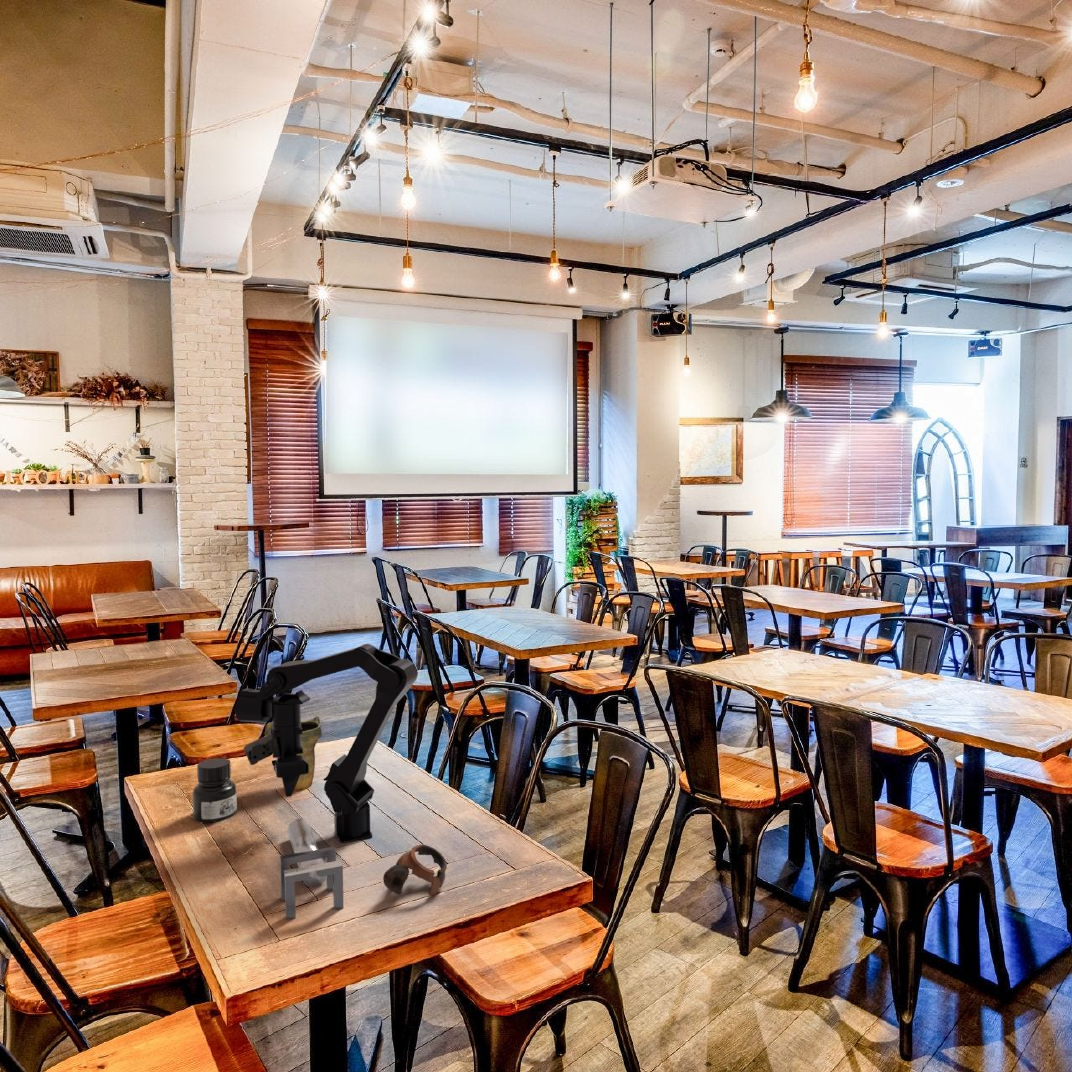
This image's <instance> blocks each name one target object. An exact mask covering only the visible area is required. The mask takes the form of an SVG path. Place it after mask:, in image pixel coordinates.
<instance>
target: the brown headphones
mask: <svg viewBox="0 0 1072 1072" xmlns="http://www.w3.org/2000/svg"><path fill="white" fill-rule="evenodd" d="M417 852H418V853H417ZM416 853H417V855H418V856H431V857H432V859H433V863H434V864H437V865H438V866H439V868H440V869H438V871H437V873H435V871H434V870H433V869H431V868H427V867H426V866H424V865H423V864H422V863H421V862H420V861H418V859H417V856H416ZM447 868H448V865H447V860H446V859H445V857H444V855H443V854H442V853H441V852H439V851H438V850H437V849H436V848H434V847H432V846H430V845H426V844H419V845H414V846H413V847H412V848H411V850H409V851H406V852H404V853H403V854H402V855H400V856H399V858H398V859H397V861H396V863H395V864H394V865H392V866H391V867H390V868H388V869H387V870H386V871H385V872H384V874H383V884H384V886H385V887H386V888H387V889H388V890H390V891H391V892H394V894H398V895H401V894H402V891H403V887H404V885H405V882H406V881H407V880H408V878H409V875H410V870H411V874H412V875H414V876H416V877H417V878H419V879H422V880H424V881H425V882H428V883H431V884H430V886H431V887H430V889H429V892H428V894H429V896H431V897H433V896H436V895H437V893H438V892H439V889H440V888H442V886H443V885H444V883H445V880H446V870H447ZM435 874H436V875H435Z"/></svg>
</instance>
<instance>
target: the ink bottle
mask: <svg viewBox="0 0 1072 1072" xmlns="http://www.w3.org/2000/svg"><path fill="white" fill-rule="evenodd" d="M231 766H232V765H231V760H230V759H228V758H222V757H221V758H220V757H219V758H210V759H205V760H203V761H201V762H199V763H197V765H196V768H197V770H196V771H197V772H196V773H197V775H196V776H197V782H198V784H197V785H196V786H195V787H194V788H193V791H192V805H193V809H192V811H193V813H192V814H193V819H194V821H195V820H196V821H195V822H197V821H198V822H197V823H200V822H202V823H201V824H215V823H216V822H217V823H218V822H222V821H225V820H228V819H230V818H232V817H234V816H235V815H236V814H237V812H238V810H237V809H238V803H237V801H238V800H237V796H238V795H237V786H236V783H235V782H234V781H233V780H232V779H231V777H232V775H231V774H232V770H231V769H232V767H231Z"/></svg>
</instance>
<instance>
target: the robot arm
mask: <svg viewBox="0 0 1072 1072" xmlns="http://www.w3.org/2000/svg"><path fill="white" fill-rule="evenodd" d="M357 667H359V668H360V669H362V671H364V673H365V674H366V675H367V676H369V678H370V679H372V680H373V681H375V682H376V686H375V687H376V688H375V698H374V701H373V704H372V706H371V707H370V709H369V711H368V713H367V715H366V716H365V719H364V721H363V723H362V725H361V728H359V731H358V733H357V735H356V737H355V739H354V741H353V743H352V745H351V747H350V748H349V751H348V753H347V754H343V755H342V756H340V757H339V758H338V759H336V760H334V762H333V763H331V764H330V768H329V771H328V773H327V775H326V776H325V777H324V778H323V781H325V783H324V787H323V790H324V792H325V795H326V796H327V798H328V800H329V802H330V804H331V807H332V811H333V812H334V814H333V815H334V816H333V817H334V824H333V825H334V834H335V836H336V838H338V840H339V842H340V843H341V844H342V843H348V842H354V841H359V840H365V839H371V838H373V832H371V805H370V803H369V801H371V800H372V799H373V796H374V793H375V789H374V788H373V786H371V784H369V782H368V781H367V780H366V779H365V778H366V774H367V770H368V769H367V767H368V761H369V758H370V756H371V754H372V752H373V750H374V748H375V747H376V744H377V743H378V741H379V739H380V736H381V734H382V732H383V731H384V729H385V727H386V725H387V724H388V721H389V719H390V717H391V715H392V713H393V711H394V709H395V708H396V705H397V704H398V703H399V701H400V700H401V699H402V698H403V697H404V696H405V695H406V694H407V692H408V691H409V690H410V689H411V688H412V686H413V685H414V684H415V682H416V681H417V679H418V676H419V675H418V673H419V672H418V670H417V666H416V665H415V663H413V662H412V660H409V659H405V658H400V657H399V656H397V655H395V654H393V653H390V652H388V651H385V650H383V649H379V648H377V647H376V646H374V645H372V644H370V643H364V644H362V645H360V646H357V647H354V648H351V649H347V650H344V651H340V652H338V653H334V654H329V655H327V656H323V657H320V658H317V659H311V660H308V659H307V660H305V659H301V660H292V661H291V660H290V661H287V662H284V663H281V664H279V665H277V666H275V667H272V668H270V669H269V670H268V673H267V675H266V681H265V682H264V684H263V686H262V687H261V688H260V689H253V688H244V689H242V690H240V696H239V697H238V699H237V702H236V705H235V708H234V714H235V718H236V719H237V720H238V721H239V722H246V723H247V722H248V723H249V722H251V723H268V721H269V720H270V719H271V718H272V719H271V720H272V722H271V723H272V729H270V735H268V736H266V735H264V736H263V737H261V738H258V739H256V740H254V741H252V742H249V743H248V744H246V745H244V746H243V750H244V753H245V756H246V758H247V760H248V762H249V765H250V766H254V765H257V764H258V763H259V762H261V761H263V760H265V759H267V758H268V757H270V756H272V758H273V759H274V760H272V761H271V765H272V767H273V770H274V774H275V777H276V778H279V779H281V780H282V781H281V782H282V785H283V789H284V794H285V796H286V798H289V797H293V793H294V791H295V790H294V789H295V787H296V784H297V782H298V779H299V777H300V775H303V774H307V773H309V766H308V762H307V760H306V758H304V757H303V756H302V755H297V754H301V753H303V748H302V746H301V734H302V728H301V721H302V717H301V716H302V715H301V705H303V704H305V703H307V702H309V701H310V700H311V697H310V696H309V695H307V694H306V693H305V692H304V691H303V689H301V690H298V691H297V692H295V693H289V692H290V691H292V690H294V689H296V688H299V687H300V686H302V685H304V684H306V683H308V682H311V681H312V680H315V679H319V678H322V677H326V676H329V675H332V674H336V673H340V672H343V671H346V670H350V669H354V668H357ZM276 695H281V696H276Z"/></svg>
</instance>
